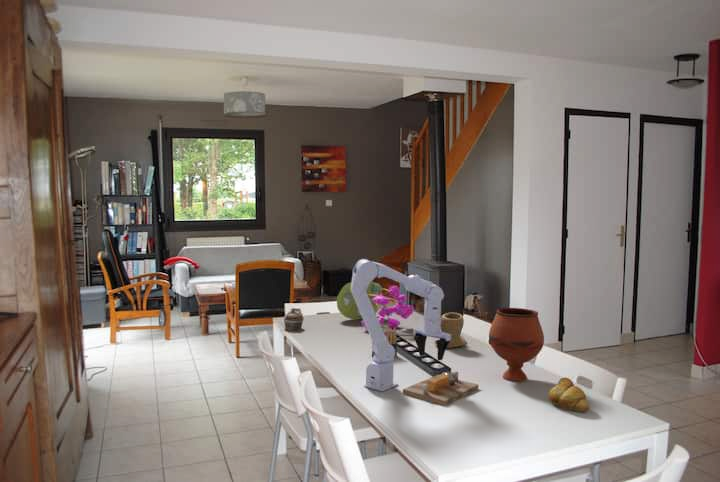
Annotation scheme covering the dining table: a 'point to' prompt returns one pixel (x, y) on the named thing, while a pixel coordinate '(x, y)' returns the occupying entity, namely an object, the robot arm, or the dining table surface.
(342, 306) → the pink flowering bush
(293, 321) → the cupcake
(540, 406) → the dining table surface
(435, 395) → the walnut board
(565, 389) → the bread roll
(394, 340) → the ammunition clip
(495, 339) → the goblet
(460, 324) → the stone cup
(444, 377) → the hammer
